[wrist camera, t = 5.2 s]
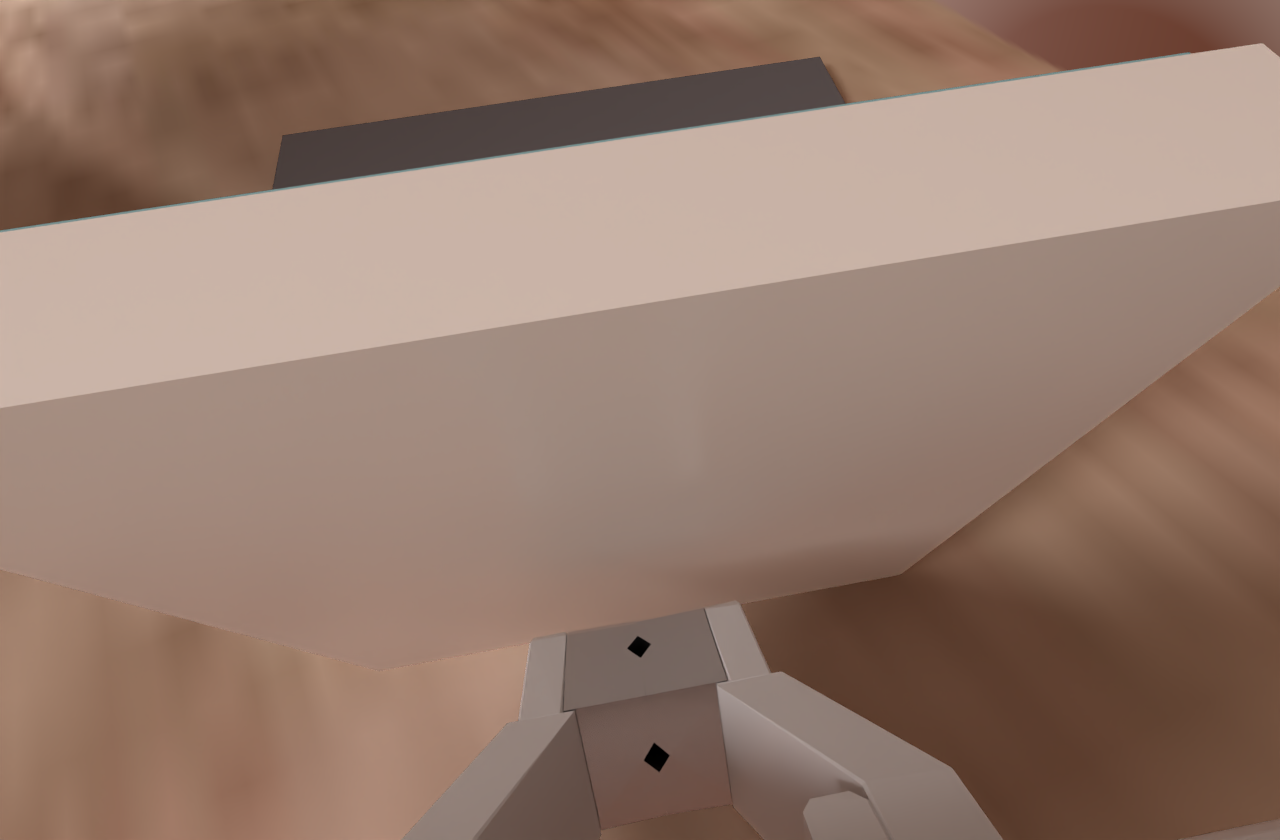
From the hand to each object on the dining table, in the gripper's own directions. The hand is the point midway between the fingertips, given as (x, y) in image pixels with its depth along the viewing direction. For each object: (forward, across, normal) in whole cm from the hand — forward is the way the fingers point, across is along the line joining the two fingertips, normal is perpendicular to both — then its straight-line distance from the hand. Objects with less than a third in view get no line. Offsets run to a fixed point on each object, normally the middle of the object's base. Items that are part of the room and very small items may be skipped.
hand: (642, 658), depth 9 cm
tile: (+5, 0, +2) cm, 5 cm away
